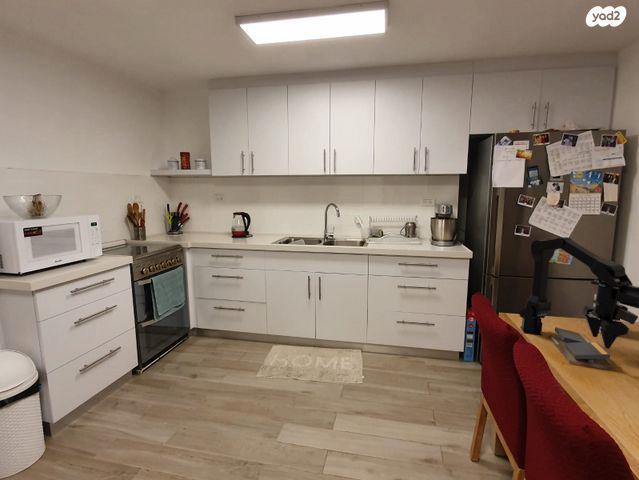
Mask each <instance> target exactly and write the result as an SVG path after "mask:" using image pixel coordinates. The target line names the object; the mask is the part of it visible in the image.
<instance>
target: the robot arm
mask: <svg viewBox="0 0 639 480" xmlns="http://www.w3.org/2000/svg"><path fill="white" fill-rule="evenodd" d="M560 249H561V250H562V251H564V252H565V253H567V254H569V255H570V256H571V257H573V258H575V259H576V260H578V261H579V262H581V263H583V264H584V265H585V266H586V267H588V268H589V269H590V272H591V273H592V274H593V275H594V276H595V277H596V279H594V280H592V281H590V284H591V285H595V286H597V290H596V294H597V295H596V300H594V298H593V300H592V304H593V303H595V307H593V305H592V306H591V305H590V306H589V305H586V306H584V307H582V313H583V314H584V318H585V320H586V323H587V326H588V327H589V330H590V333H591V335H592V337H593V338H598V336H599V334H601V335H600V336H601V337H602V341H603V345H604V349H610V348H611V347H612V346H613V344H614V342H615V341H616V340H617V338H618V337H620V336H625V335H629V332H630V328H629V327H628V326H627V325H626V324H625V323H623V322H622V321H624V322H626V323H629V324H630V325H633V326H634V324H635V323H636V322H637V320H638V319H639V315H636V314H635V313H634V312H631V311H629V308H628V307H631V308H635V309H638V310H639V286H634V283H633V282H632V281H631V279H630V278H629V276H628V275H627V273H626V268H625V267H624V266H623V265H622V264H620V263H618V262H615V261H612V260H611V259H608V258H603V257H600V256H598V255H597V254H595V253H594V252H592V251H590V250H588V248H585V247H584V246H582V245H580V244H579V243H577V242H576V241H574V240H572V238H570V237H569V236H568V237H567V236H562V237H557V238H552V239H537V240H536V239H535V240H533V242H531V243H530V255H531V257H532V259H533V262H534V263H533V277H532V287H531V294H530V296H529V297H528V299H527V301H526V304H525V307H524V308H523V309H521V310H519V311H518V314H519V317H520V318H522V319H521V320H522V321H521V326H520V329H521V331H522V332H523V333H524V334H530V335H539V336H541V335H542V331H543V324H544V323H543V322H542V319H545V317H546V316H547V315H549V313H550V312H551V311H552V308H551V306H552V301H551V300H548V298H547V295H546V294H547V285H548V275H549V265H550V264H549V263H550V261H551V260H552V258H553V256H554V255H555V251H556V250H560ZM618 302H619V303H618ZM613 320H616V321H613ZM600 326H601V328H600ZM599 330H600V331H601V333H599Z"/></svg>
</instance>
